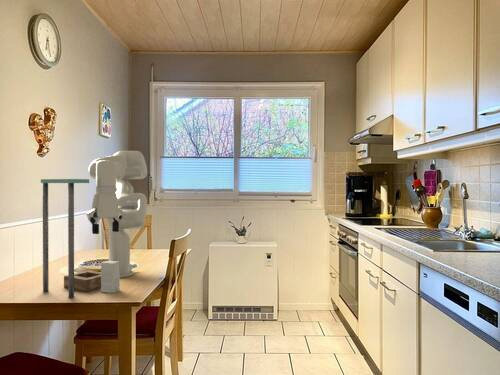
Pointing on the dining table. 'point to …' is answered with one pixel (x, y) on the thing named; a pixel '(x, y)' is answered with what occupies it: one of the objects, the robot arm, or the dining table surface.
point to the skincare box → (110, 276)
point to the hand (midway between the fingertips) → (105, 232)
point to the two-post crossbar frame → (70, 232)
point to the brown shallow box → (85, 281)
